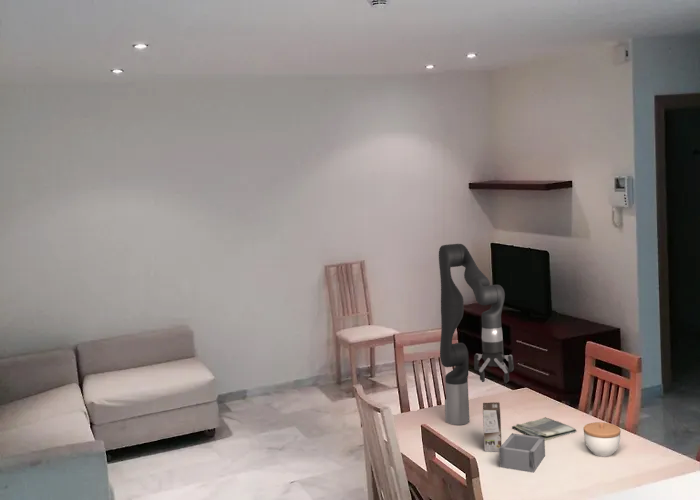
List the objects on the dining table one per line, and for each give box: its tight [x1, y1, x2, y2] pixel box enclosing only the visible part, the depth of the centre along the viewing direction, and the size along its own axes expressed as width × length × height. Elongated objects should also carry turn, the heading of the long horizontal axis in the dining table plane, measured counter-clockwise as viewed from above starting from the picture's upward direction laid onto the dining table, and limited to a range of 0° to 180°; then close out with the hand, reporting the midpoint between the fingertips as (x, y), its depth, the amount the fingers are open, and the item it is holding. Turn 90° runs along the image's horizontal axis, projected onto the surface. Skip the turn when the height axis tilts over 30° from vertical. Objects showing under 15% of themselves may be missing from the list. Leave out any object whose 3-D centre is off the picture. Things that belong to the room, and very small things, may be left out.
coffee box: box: [482, 401, 502, 453], centre depth 267 cm, size 9×6×16 cm
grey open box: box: [498, 432, 546, 473], centre depth 253 cm, size 12×15×7 cm
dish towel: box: [511, 416, 577, 441], centre depth 281 cm, size 19×18×3 cm
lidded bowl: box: [583, 421, 621, 457], centre depth 256 cm, size 13×13×11 cm
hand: (494, 382), depth 262 cm, fingers open, 8 cm apart
